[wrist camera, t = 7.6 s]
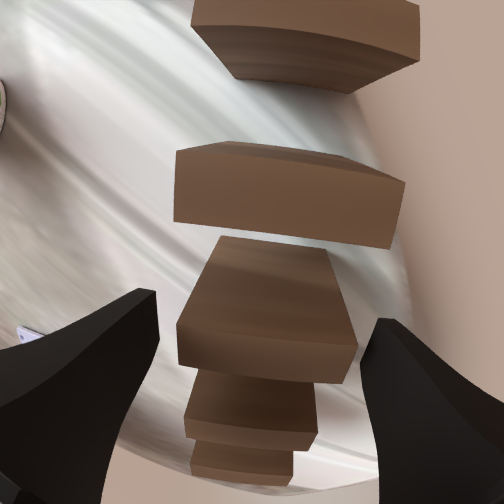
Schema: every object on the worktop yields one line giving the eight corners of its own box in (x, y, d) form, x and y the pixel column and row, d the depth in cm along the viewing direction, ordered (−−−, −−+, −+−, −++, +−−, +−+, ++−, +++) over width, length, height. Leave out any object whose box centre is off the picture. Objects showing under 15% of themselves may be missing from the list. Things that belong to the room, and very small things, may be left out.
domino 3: (318, 278, 15) (342, 383, 8) (218, 265, 15) (178, 364, 8) (325, 249, 14) (358, 345, 7) (220, 235, 14) (176, 323, 8)
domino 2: (335, 190, 13) (389, 249, 6) (225, 176, 13) (173, 221, 7) (341, 156, 12) (405, 182, 6) (228, 141, 12) (175, 150, 6)
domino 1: (349, 93, 11) (419, 60, 5) (234, 78, 11) (190, 25, 5) (351, 61, 10) (418, 5, 4) (238, 46, 11) (200, -29, 4)
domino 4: (301, 347, 16) (307, 451, 10) (215, 336, 16) (186, 437, 10) (307, 325, 16) (318, 432, 9) (216, 314, 16) (183, 417, 9)
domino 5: (287, 395, 18) (286, 486, 12) (213, 385, 18) (192, 475, 12) (292, 379, 17) (293, 476, 11) (213, 370, 18) (190, 463, 11)
